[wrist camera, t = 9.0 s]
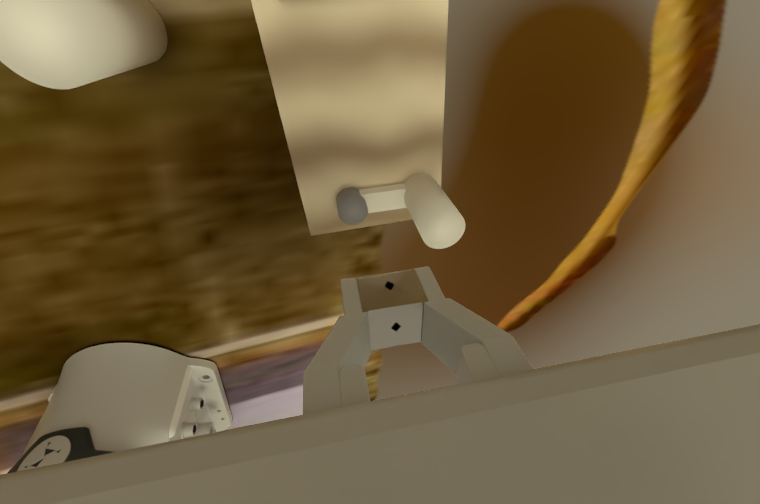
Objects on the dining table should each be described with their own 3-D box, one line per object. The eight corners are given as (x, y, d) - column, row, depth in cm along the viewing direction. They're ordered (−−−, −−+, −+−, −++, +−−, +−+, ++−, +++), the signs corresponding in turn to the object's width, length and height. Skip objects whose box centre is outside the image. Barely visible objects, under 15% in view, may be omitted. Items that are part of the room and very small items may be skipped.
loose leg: (178, 60, 22) (114, 83, 15) (116, 67, 21) (20, 94, 14) (148, -17, 19) (54, -33, 12) (77, -11, 19) (-62, -24, 12)
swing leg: (339, 218, 28) (345, 263, 23) (333, 184, 26) (339, 226, 21) (436, 204, 29) (463, 245, 24) (438, 170, 27) (467, 207, 22)
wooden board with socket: (432, 202, 32) (450, 232, 28) (310, 222, 31) (310, 255, 27) (442, -257, 16) (490, -354, 12) (194, -251, 15) (148, -355, 11)
